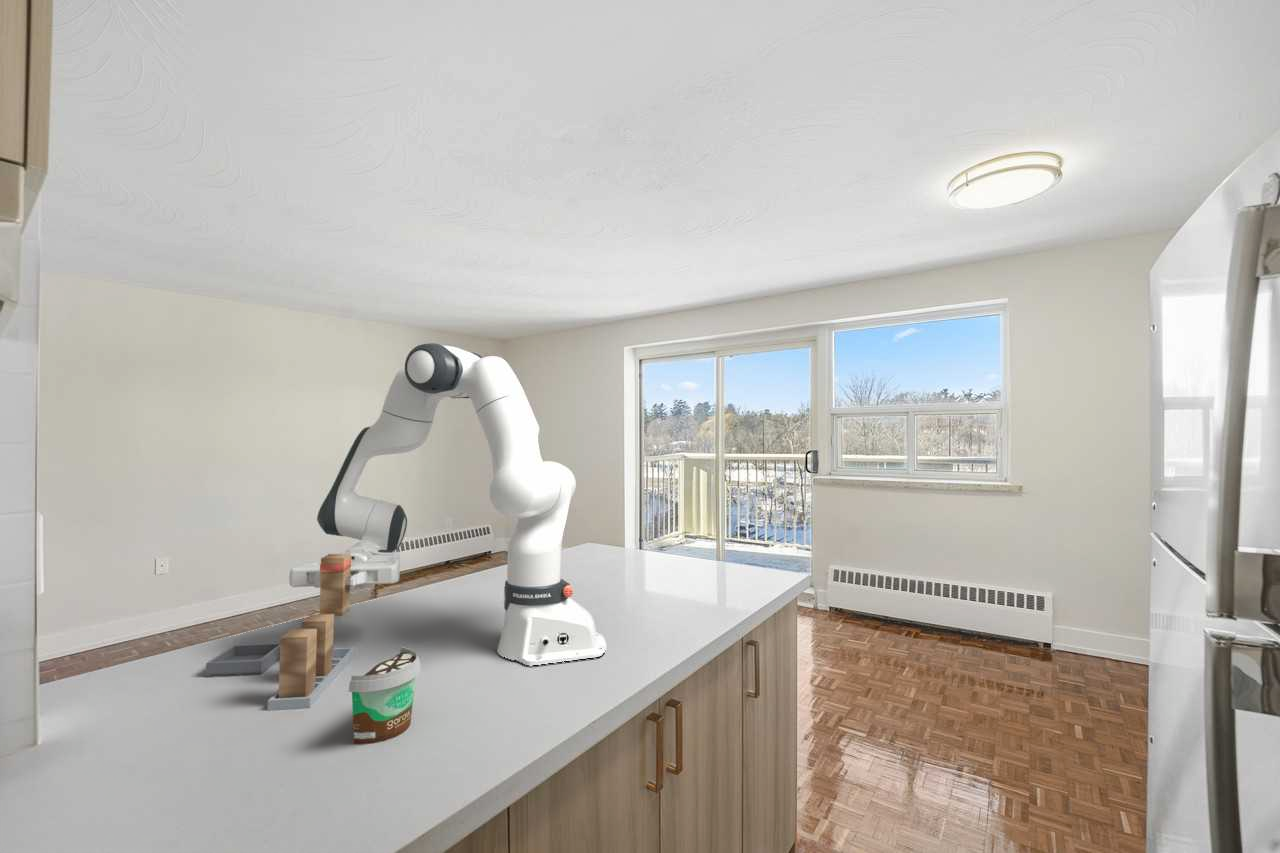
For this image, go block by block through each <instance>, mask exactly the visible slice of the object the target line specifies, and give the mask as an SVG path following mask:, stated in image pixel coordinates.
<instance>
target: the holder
mask: <svg viewBox="0 0 1280 853" xmlns="http://www.w3.org/2000/svg"><path fill="white" fill-rule="evenodd" d="M355 653H356V647H337V648H335V647H333V664H332V670H331V671H330V672H329V674H328V675H327V676H319V677H315V689H314V690H313V691H312V692H311V694H310V695H309V696H308V697H295V698H278V697H279V689H278V690H277V691H276V692H275V693H274V694H273V695H272V696H271V697H270V698H269V699H268V700H267V707H266V708H267V711H274V710H276V711H278V710H293V709H309V708H311V707H312V706H313V705H314V704H315V702H316V701H317V700H318V699H319V698H320V697H321V695H323V693H324V692H325V690H326V689H327V688H329V686H330V685H331V684H332V682H334V680H335V679H336V678H337V676H338V675H339V674H340V673H341V672H342V671H343V669H344V668H345V667H346V666H347V665H348V664H349V663H350V661H351V660H352V659H353V658H354V656H355V655H356V654H355ZM341 657H342V658H341Z"/></svg>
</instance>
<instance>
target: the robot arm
mask: <svg viewBox="0 0 1280 853" xmlns="http://www.w3.org/2000/svg"><path fill="white" fill-rule="evenodd" d="M514 372H515V371H513V369H512V368H511V366H510V364H509V363H508V362H507V361H506V360H505V359H503V357H500V356H496V355H490V356H482V355H479V353H475V352H470V351H467V350H464V349H462V348H460V347H457V346H451V345H442V344H439V343H431V342H430V343H423V344H422V343H421V344H419V345H417V346H415V347H414V348H412V349H411V350H410V351H409V352H408V354H407V356H406V358H405V362H404V367H403V368H401V369H400V370H399V371H397V372H396V374H395V376H394V378H393V379H392V382H391V384H390V385H389V389H388V391H387V393H386V396H385V400H384V401H383V402H384V403H383V406H382V410H381V413H380V415H379V416H378V419H377V420H376V421H375V422H374V423H373V424H372V425H371V426H368V427H367V426H366V427H364V428H363V429H362V430H361V431H360V432H359V433H358V434H357V436H356V438H355V439H354V441H353V443H352V445H351V446H350V447H349V448H350V449H349V451H348V453H347V454H346V457H345V459H344V461H343V462H342V465H341V467H340V469H339V472H338V474H337V476H336V478H335V480H334V482H333V484H332V486H331V488H330V490H329V492H328V493H327V495H326V497H325V498H324V500H323V502H322V504H321V505H320V507H319V509H318V513H317V517H316V520H317V523H318V525H319V528H321V530H322V531H323V532H324V533H325V535H330V536H338V537H347V538H351V539H355V540H360V541H359V542H357V543H356V544H354V545H352V546H350V547H349V548H346V549H345V550H343V551H341V552H340V553H339V554H351V567H350V576H347V577H346V578H345V582H346V583H345V586H350V590H358V589H361V588H364V587H369V586H372V585H389V584H391V585H393V584H396V583H398V582H399V581H400V571H401V570H400V567H401V565H400V559H401V558H400V552H399V551H397V550H398V549H399V548H400V546H401V544H402V542H403V540H404V538H405V534H406V532H407V526H408V519H407V515H406V513H405V509H404V508H403V507H402V505H400V504H396V503H394V502H393V503H392V502H389V501H386V500H382V499H380V500H379V499H376V498H371V497H367V496H363V495H359V494H357V493H356V492H355V488H356V486H357V484H358V481H360V480H359V479H361V476H362V473H363V472H364V469H365V467H366V465H367V463H368V461H369V460H370V459H372V458H374V457H377V456H384V455H385V456H386V455H396V454H404V453H409V452H411V451H414V450H416V449H418V448H420V447H421V446H422V445H423V444H424V443H425V442H427V440H428V437H429V434H430V432H431V429H432V426H433V423H434V419H435V415H436V411H437V408H438V405H439V403H440V402H441V401H442V400H443V399H445V398H447V397H449V398H451V399H470V401H471V403H472V405H473V408H474V410H475V414H476V415H477V416H476V417H477V418H478V420H479V423H480V425H481V428H482V430H483V434H484V436H485V438H486V440H487V443H488V444H487V445H488V447H489V449H490V450H489V451H490V454H491V455H490V456H491V463H492V471H493V475H492V476H493V477H492V480H491V483H490V486H489V498H490V502H491V504H492V506H493V507H494V509H495V510H496V511H498V512H499V513H500V514H501V515H504V516H505V517H511V518H517V523H516V526H515V529H514V532H513V533H512V536H511V537H510V539H509V541H508V544H507V565H506V566H507V572H506V574H507V577H506V581H505V582H504V587H503V606H504V607H503V608H504V618H503V619H504V620H503V624H502V625H503V626H502V629H501V636H500V639H499V641H498V642H499V643H498V646H497V649H496V651H497V652H496V653H497V654H498V655H499V656H501V657H502V658H504V657H505V658H504V659H507V658H508V659H507V660H510V659H511V661H514V660H517V661H516V662H518V661H519V663H521V662H522V663H523V664H522V663H521V664H522V665H524V664H525V665H524V666H526V665H529V666H528V667H534V666H533V665H539V666H542V665H541V664H546V665H549V664H548V663H554V664H557V663H556V662H562V661H563V662H562V663H565V662H564V661H570V662H572V661H571V660H577V659H585V658H592V657H598V656H601V655H602V654H603V653H604V652H605V650H606V651H607V642H606V639H605V637H604V636H603V635H602V634H601V633H599V632H597V627H596V624H595V621H594V618H593V615H592V613H591V612H589V611H588V610H587V609H586V608H585V607H583V606H582V605H580V604H579V603H578V602H576V601H575V600H574V599H573V598H572V596H574V589H573V586H571V584H570V583H569V582H568V581H567V579H563V578H561V577H562V576H561V574H562V573H561V572H562V548H563V547H562V545H563V538H564V531H565V527H566V523H567V518H568V515H569V514H568V513H569V508H570V504H571V500H572V499H573V497H574V494H575V493H576V487H577V483H576V482H577V481H576V477H575V476H574V473H573V471H572V470H571V469H569V467H567V466H566V465H563V464H562V463H559V462H557V461H552V460H546V461H544V460H543V458H542V455H541V450H540V446H539V434H540V426H539V424H538V421H537V419H536V417H535V415H534V412H533V409H532V407H531V405H530V403H529V400H528V397H527V395H526V393H525V390H524V389H523V387H522V385H521V383H520V381H519V379H518V377H517V375H516V374H515V373H514ZM320 564H321V561H312V562H306V563H305V562H304V563H303V564H299V565H297V566H294V567H291V569H290V570H289V578H288V579H289V580H288V582H289V586H291V587H293V588H303V587H305V588H306V587H314V588H318V589H319V588H320V580H321V572H320ZM605 653H606V652H605Z"/></svg>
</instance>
